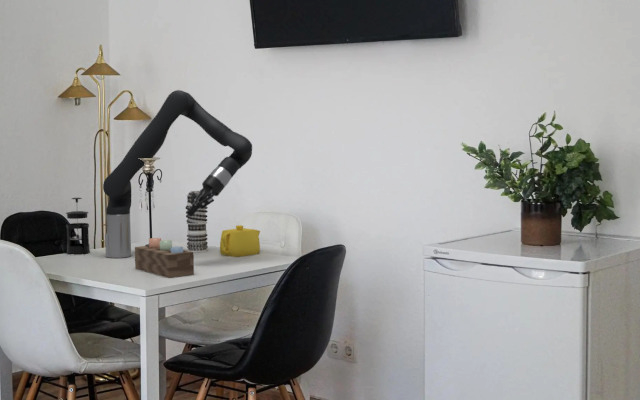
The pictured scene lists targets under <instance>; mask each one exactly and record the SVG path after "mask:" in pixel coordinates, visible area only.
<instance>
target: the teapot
mask: <svg viewBox="0 0 640 400" xmlns="http://www.w3.org/2000/svg"><path fill="white" fill-rule="evenodd" d="M260 232H261V230H257V229H254V228H245V227H244V225H242V224H241V225H235V228H231V229H225V230H222V231H221V233H220V235H221V236H220V241H219V252H220V255H222V256H225V257H234V258H241V257H250V256H255V255H260V250H261V243H260V237H259V236H260Z"/></svg>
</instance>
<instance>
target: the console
mask: <svg viewBox="0 0 640 400" xmlns="http://www.w3.org/2000/svg"><path fill="white" fill-rule="evenodd" d="M194 255H195V254H194V253H193V252H191V251H187V249H183V252H182V253H171V250H166V251H162V250H160V248H149V245H142V246H134V265H135V269H136V270H139V271H143V272H146V273H150V274H154V275H157V276H161V277H165V278H168V279H171V278H179V277H185V276H193V275H195V266H194V265H195V261H194V259H195V257H194Z"/></svg>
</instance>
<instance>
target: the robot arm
mask: <svg viewBox="0 0 640 400" xmlns="http://www.w3.org/2000/svg"><path fill="white" fill-rule="evenodd" d="M180 116H183V117H185V118H188V119H189V120H191V121H193V123H196V124H197V125H198V126H199V127H200V128H201V129H203V131H204V132H205V133H206V135H208V136H209V137H210V138H212V140H214V141H216V142H217V143H218V144H220V145H221V146H223V147H229V148H231V149H232V150H233V151H232V153H231V154H230V155H229V156H226V157H224V158H223V159H222V160H221V161H220V162H219V164H218V165H217V166H216V167H214V169H213V170H212V171H211V172H210V173H209V174H208V176H207V177H206V178H205V179H204V180H203V182H202V184H201V185H202V189H200V190H198V191H199V193H198V194H195V193H194V194H193V195H192V199H191V202H190V203H191V204H192V206H191V207H190V208H189V210H188V211H187V210H186V211H187V212H186V211H185V213H187V214H188V216H193V215H194V213H195V212H196V211H197V210H199V209H200V208H201V209H203V208H204V207H208V206H209V205H210V204H212V203H213V202H214V201H215V199H214V197H218V196H219V195H220V194H221V193H222V191H223V190H224V189H225V188H226V186H227V185H228V184H229V183H230V181H231V179H232V178H233V177H234V176H235V175H236V173H237V172H238V170H240V169H241V168H242V167H244V165H246V164H247V163H248V162H249V160H250V159H251V158H252V155H253V144H252V142H251V141H250V140H249V139H248V138H247V137H246V136H244V135H243V134H241V133H238V132H235V131H234V130H232V129H231V128H229V127H228V126H227V125H225V123H223V122H222V121H220V120H219V119H218V118H216V117H214V116H213V115H212V114H210V113H209V112H208V111H207V110H206V109H205V108H204V107H202V105H201V104H199V103H198V101H197V100H196V99H195V97H194V96H193V95H191V93H189V92H186V91H184V90H180V89H176V90H174V91H172V92H170V94H168V96H167V97H166V99H165V100H164V102H163V103H162V105H161V107H160V109H159V110H158V111H157V113H156V115H155V116H154V117H153V118H152V120H151V121H150V123H149V124H148V125H147V126H146V127H145V129H144V130H143V131H142V132H141V134H140V135H139V136H138V137H137V139H136V140H135V142H133V144H132V145H131V147H130V149H129V150H128V151H127V153H126V154H125V156H124V158H123V159H122V160H121V162H119V164H118V165H117V166H116V168H114V170H112V171H111V173H110V174H109V175H107V177H106V178H105V180H104V181H103V184H102V185H103V186H102V190H103V192H104V194H105V195H106V196H107V197H108V204H107V207H106V210H105V211H106V212H105V213H106V214H105V215H106V233H105V234H104V236H105V237H104V238H105V239H104V240H105V257H106V258H113V259H118V258H119V259H120V258H122V259H123V258H129V257H131V256H132V240H131V239H132V238H131V237H132V236H131V235H132V233H131V232H132V231H131V207H132V182H131V181H132V179H133V178H134V176H135V175H136V174H137V173H138V172H139V171H140V170H141V169H142V168H143V167H144V166H145V165H144V162H143V161H142V160H140V159H138V158H152V159H153V158H154V157H155V155H156V154H158V151H159V150H160V149H161V148H162V146H163V145H164V143H165V140H166V137H167V135H168V133H169V130H170V128H171V126H172V125H173V123H174V122H175V121H176V120H177V119H178V118H179V117H180ZM187 214H186V215H187Z"/></svg>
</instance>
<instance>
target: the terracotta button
mask: <svg viewBox="0 0 640 400" xmlns="http://www.w3.org/2000/svg"><path fill="white" fill-rule="evenodd" d="M160 241H162V237H161V238H160V237H152V238H149V239H148V246H149V248H160Z"/></svg>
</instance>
